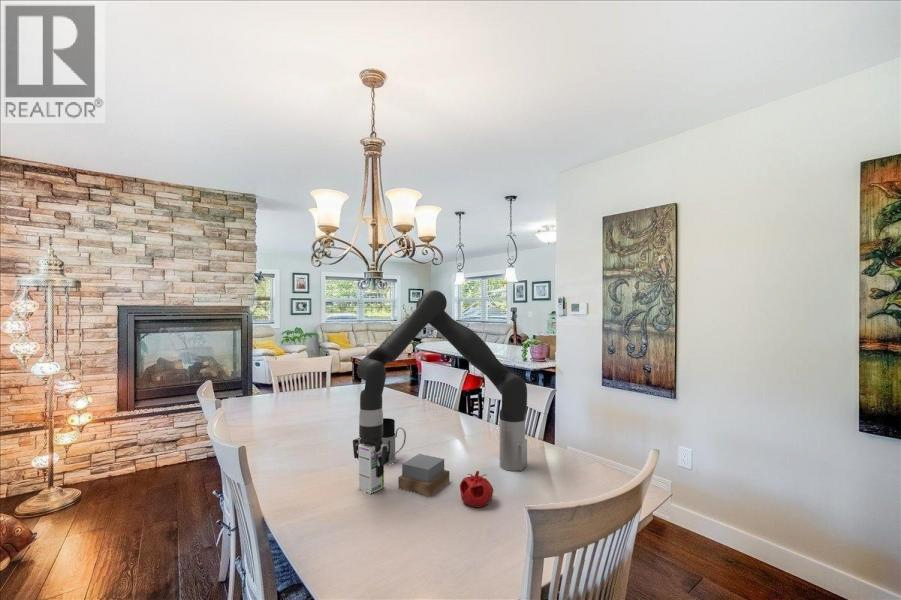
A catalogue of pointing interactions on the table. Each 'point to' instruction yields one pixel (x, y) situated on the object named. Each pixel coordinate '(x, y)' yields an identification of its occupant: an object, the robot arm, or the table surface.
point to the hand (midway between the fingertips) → (371, 474)
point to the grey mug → (391, 437)
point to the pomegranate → (476, 490)
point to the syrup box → (369, 469)
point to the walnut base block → (424, 484)
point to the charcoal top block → (423, 468)
